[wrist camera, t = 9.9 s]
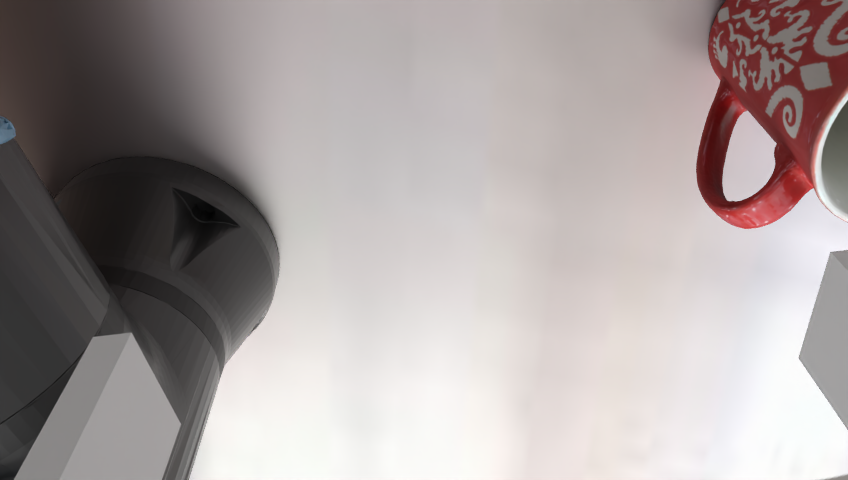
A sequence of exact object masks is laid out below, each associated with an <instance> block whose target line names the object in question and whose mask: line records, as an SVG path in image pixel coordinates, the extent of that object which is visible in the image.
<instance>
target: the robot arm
mask: <svg viewBox="0 0 848 480" xmlns="http://www.w3.org/2000/svg"><path fill="white" fill-rule="evenodd" d="M15 136H16V134H15V128H14V126H13V124H12V123H11V122H10V121H9V120H8V119H6V118H4V117H2V116H0V480H189V478H190V474H191V471H192V468H193V465H194V461H195V458H196V455H197V452H198V449H199V445H200V442H201V439H202V436H203V432H204V429H205V426H206V423H207V420H208V416H209V413H210V410H211V407H212V403H213V400H214V397H215V394H216V391H217V387H218V383H219V380H220V377H221V374H222V371H223V368H224V365H225V364H226V363H227V362H228V360H229V359H230V358H231V357H232V355H233V354H234V353H235V352H236V350H237V349H238V348H239V347H240V345H241V344H242V343H243V342H244V340H245V339H246V338H247V337H248V336H249V335H250V334H251V333H252V332H253V331H254V330H255V329H256V328H257V327H258V326H259V324H260V323H261V322H262V320H263V319H264V317H265V315H266V314H267V312H268V310H269V308H270V305H271V303H272V300H273V296H274V292H275V288H276V285H277V281H278V276H279V255H278V249H277V246H276V242H275V240H274V237H273V235H272V232H271V230H270V228H269V227H268V225H267V223H266V222H265V220H264V219H263V217H262V216H261V214H260V213H259V212H258V211H257V209H256V208H255V207H254V206H253V205H252V204H251V203H250V202H249V201H248V200H247V199H246V198H245V197H244V196H243V195H242V194H240V193H239V192H238V191H237V190H235V189H234V188H233V187H231V186H230V185H228V184H227V183H225V182H224V181H222V180H220V179H219V178H217V177H215V176H213V175H211V174H209V173H207V172H205V171H203V170H200V169H198V168H195V167H193V166H190V165H186V164H183V163H180V162H176V161H171V160H166V159H159V158H149V157H131V158H122V159H115V160H111V161H107V162H104V163H100V164H98V165H95V166H93V167H91V168H89V169H87V170H85V171H83V172H81V173H80V174H78V175H77V176H76V177H74V178H73V179H72V180H71V181H70V182H69V183H68V184H67V185H66V186H65V187H64V188H63V189H62V191H61V192H60V193H59V194H58V195H57V197H56V198H55V199H53V198H52V196H51V195H50V193H49V192H48V190H47V188H46V187H45V185H44V184H43V182H42V181H41V179H40V177H39V176H38V174H37V173H36V171H35V170H34V168H33V167H32V165H31V163H30V162H29V160H28V159H27V157H26V156H25V154H24V153H23V151H22V149H21V148H20V146H19V145H18V143H17V142H16V140H15V139H14V137H15ZM799 359H800V361H801V362H802V364H803V365H804V367H805V368H806V370H807V371H808V373H809V374H810V375H811V377H812V378H813V380H814V381H815V383H816V384H817V386H818V387H819V389H820V390H821V392H822V393H823V394H824V396H825V397H826V399H827V400H828V402H829V403H830V405H831V406H832V408H833V409H834V411H835V412H836V413H837V415H838V416H839V418H840V419H841V421H842V422H843V424H844V425H845V427H846V428H847V429H848V250H844V251H836V252H830V255H829V259H828V262H827V265H826V269H825V272H824V275H823V279H822V282H821V285H820V289H819V292H818V295H817V299H816V302H815V305H814V308H813V312H812V315H811V318H810V322H809V325H808V328H807V332H806V335H805V338H804V342H803V345H802V348H801V352H800V355H799Z"/></svg>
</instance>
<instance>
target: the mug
mask: <svg viewBox="0 0 848 480" xmlns="http://www.w3.org/2000/svg"><path fill="white" fill-rule="evenodd" d="M708 52H709V58H710V62H711V65H712V67H713V69H714V71H715V73H716V75H717V76H718V78H719V79H720V80H721V81H720V85H719V88H718V90H717V93H716V96H715V99H714V101H713V103H712V105H711V108H710V111H709V113H708V117H707V120H706V123H705V126H704V130H703V133H702V137H701V142H700V146H699V151H698V157H697V166H696V173H697V183H698V187H699V190H700V192H701V195H702V197H703V199H704V200H705V202H706V203H707V204H708V206H709V207H710V208H711V209H712V210H713V211H714V212H715V213H716V214H717V215H718V216H720V217H721V218H722V219H723V220H725V221H726V222H728V223H729V224H731V225H734V226H736V227H740V228H744V229H751V228H758V227H762V226H765V225H768V224H771V223H773V222H775V221H777V220H778V219H780V218H781V217H782V216H784V215H785V214H786V213H788V212H789V211H790V210H791V209H792V208H793V207H794V206H795V205H796V204H797V203H798V201H799V200H800V199H801V198H802V197H803V196H804V195H805V194H806V193H807V192H808V191H809V190H811V189H812V188H814V189H815V192H816V194H817V196H818V198H819V199H820V201H821V203H822V204H823V205H824V206H825V207H826V208H827V209H828V210H829V211H830V212H831V213H832V214H834V215H835V216H837V217H838V218H840V219H841V220H843V221H845V222H848V0H726V1H725V2H724V4H723V5H722V7H721V8H720V10H719V12H718V14H717V16H716V18H715V20H714V23H713V25H712V28H711V32H710V37H709V46H708ZM747 110H748V111H749V112H750V113H751V114H752V116H753V117H754V118H755V119H756V120H757V122H758V123H759V124H760V125H761V126H762V127H763V128H764V129H765V131H766V132H767V133H768V134H769V135H770V136H771V138H772V139H773V140H774V141H775V142H776V143H777V145H776V147H775V151H774V157H775V169H774V171H773V174H772V176H771V178H770V179H769V181H768V182H767V184H766V185H765V186H764V187H763V188H762V189H761V190H759V191H758V192H757V193H756V194H754V195H753V196H751V197H749V198H747V199H744V200H742V201H737V202H735V201H727V200H726V198H725V196H724V193H723V187H722V176H723V167H724V163H725V158H726V152H727V149H728V145H729V140H730V137H731V134H732V131H733V128H734V126H735V124H736V121H737V119H738V118H739V116H740V115H741V114H742V113H743V112H745V111H747Z"/></svg>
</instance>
